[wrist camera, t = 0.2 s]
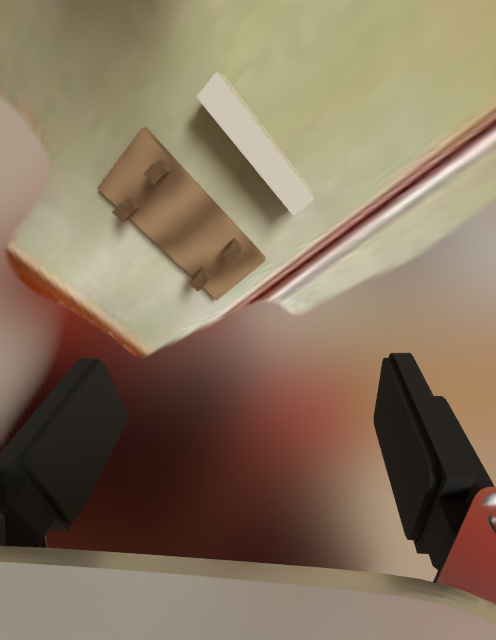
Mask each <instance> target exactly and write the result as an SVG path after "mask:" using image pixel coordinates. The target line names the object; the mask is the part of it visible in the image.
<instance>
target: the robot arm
mask: <svg viewBox="0 0 496 640" xmlns="http://www.w3.org/2000/svg"><path fill="white" fill-rule="evenodd" d="M126 423H127V413H126V411H125V408H124V406H123V404H122V402H121V399H120V397H119V395H118V393H117V390H116V388H115V386H114V384H113V381H112V379H111V377H110V375H109V373H108V370H107V368H106V366H105V364H104V363H102V362H101V361H100V360H99V359H97V358H85V359H83V358H82V359H79V360H78V361H77V362H76V363H75V365H74V366H73V367H72V368H71V369H70V371H69V372H68V373H67V374H66V375H65V377H64V378H63V379H62V380H61V381H60V382H59V384H58V385H57V386H56V387H55V388H54V390H53V391H52V392H51V393H50V394H49V396H48V397H47V398H46V399H45V400H44V402H43V403H42V404H41V405H40V406H39V408H38V409H37V410H36V411H35V412H34V414H33V415H32V416H31V417H30V418H29V419H28V421H27V422H26V423H25V424H24V426H23V427H22V428H21V429H20V430H19V432H18V433H17V434H16V435H15V436H14V438H13V439H12V440H11V441H10V442H9V444H8V445H7V446H6V447H5V448H4V449H3V451H2V452H1V453H0V640H496V487H495V486H494V485H493V483H492V481H491V479H490V477H489V476H488V474H487V472H486V470H485V469H484V467H483V465H482V463H481V462H480V460H479V458H478V456H477V454H476V452H475V451H474V449H473V447H472V445H471V443H470V442H469V440H468V438H467V436H466V434H465V433H464V431H463V429H462V427H461V426H460V424H459V422H458V420H457V418H456V416H455V415H454V413H453V411H452V409H451V408H450V406H449V404H448V402H447V401H446V399H445V398H443V397H442V396H433V394H432V392H431V390H430V388H429V386H428V384H427V382H426V381H425V378H424V377H423V375H422V373H421V371H420V369H419V367H418V365H417V363H416V361H415V359H414V357H413V356H412V354H411V353H391V354H390V355H389V358H384V359H383V361H382V367H381V374H380V380H379V386H378V393H377V399H376V406H375V412H374V426H375V430H376V434H377V437H378V441H379V444H380V448H381V451H382V455H383V459H384V462H385V466H386V469H387V473H388V476H389V480H390V483H391V487H392V490H393V494H394V497H395V501H396V505H397V508H398V512H399V515H400V519H401V522H402V526H403V530H404V533H405V536H406V538H407V539H408V540H413V541H414V544H415V547H416V551H417V553H420V554H429V556H430V559H431V562H432V565H433V567H435V568H436V569H437V570H438V572H437V574H436V576H435V578H434V581H433V582H430V581H425V580H422V579H416V578H409V577H402V576H395V575H389V574H380V573H370V572H359V571H349V570H339V569H328V568H316V567H304V566H291V565H278V564H265V563H252V562H240V561H227V560H213V559H212V560H211V559H198V558H185V557H171V556H157V555H143V554H129V553H115V552H114V553H113V552H100V551H84V550H69V549H54V548H47V547H46V538H45V535H46V533H47V531H48V530H49V528H50V529H51V530H59V531H68V530H69V528H70V526H71V524H72V522H73V520H75V519H77V518H78V517H79V515H80V514H81V512H82V510H83V508H84V506H85V504H86V502H87V500H88V498H89V496H90V494H91V492H92V490H93V488H94V486H95V484H96V482H97V480H98V478H99V477H100V474H101V473H102V471H103V469H104V467H105V465H106V463H107V461H108V459H109V457H110V455H111V453H112V451H113V449H114V447H115V445H116V443H117V441H118V439H119V437H120V435H121V433H122V432H123V429H124V427H125V426H126Z"/></svg>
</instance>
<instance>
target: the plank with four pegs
mask: <svg viewBox="0 0 496 640" xmlns="http://www.w3.org/2000/svg"><path fill="white" fill-rule="evenodd" d="M97 189H98V190H99V191H101V192H102V193H103V194H104V195H105V196H106V197H107V198H108V199H109V200H110V201H111V202H112V203H113V204H114V205H115V206H117V207H116V209H115V210H114V211H113V212H112V213H113V214H114V215H116V216H117V217H118V218H119V219H120V220H121V221H122V222H124V221H125V220H126V219H128V218H129V219H130V220H131V221H133V222H134V223H135V224H136V225H137V226H138V227H139V228H140V229H141V230H142V231H143V232H144V233H145V234H146V235H147V236H149V237H150V238H151V239H152V240H153V241H154V242H155V243H156V244H157V245H158V246H159V247H160V248H161V249H162V250H163V251H165V252H166V253H167V254H168V255H169V256H170V257H171V258H172V259H173V260H174V261H175V262H176V263H177V264H178V265H179V266H181V267H182V268H183V269H184V270H185V271H186V272H187V273H188V274H189V275H190V276H191V277H192V280H191V282H190V285H191V286H192V287H193V288H194V289H196V290H197V291H199V290H200V289H201V288H204V289H205V290H206V291H207V292H208V293H209V294H210V295H211V296H213V297H214V298H215V299H216V300H218V299H219V298H220V297H221V296H223V295H224V294H225V293H226V292H227V291H229V290H230V289H231V288H232V287H234V286H235V285H236V284H237V283H239V282H240V281H241V280H242V279H244V278H245V277H246V276H247V275H248V274H250V273H251V272H252V271H253V270H255V269H256V268H257V267H258V266H260V265H261V264H262V263H263V262H265V256H264V255H263V254H262V253H261V252H260V250H259V249H258V248H257V247H256V246H255V245H254V244H253V243H252V242H251V241H250V240H249V239H248V237H247V236H246V235H245V234H244V233H243V232H242V231H241V230H240V229H239V228H238V227H237V225H236V224H235V223H234V222H233V221H232V220H231V219H230V218H229V217H228V216H227V215H226V214H225V212H224V211H223V210H222V209H221V208H220V207H219V206H218V205H217V204H216V203H215V202H214V201H213V199H212V198H211V197H210V196H209V195H208V194H207V193H206V192H205V191H204V190H203V189H202V188H201V186H200V185H199V184H198V183H197V182H196V181H195V180H194V179H193V178H192V177H191V176H190V174H189V173H188V172H187V171H186V170H185V169H184V168H183V167H182V166H181V165H180V164H179V163H178V161H177V160H176V159H175V158H174V157H173V156H172V155H171V154H170V153H169V152H168V151H167V150H166V148H165V147H164V146H163V145H162V144H161V143H160V142H159V141H158V140H157V139H156V138H155V137H154V135H153V134H152V133H151V132H150V131H149V130H148V129H147V128H142V129H141V130H140V131H139V133H138V134H137V135H136V137H135V138H134V139H133V141H132V142H131V143H130V145H129V146H128V147H127V149H126V150H125V152H124V153H123V154H122V156H121V157H120V158H119V160H118V161H117V162H116V164H115V165H114V166H113V168H112V169H111V170H110V172H109V173H108V174H107V176H106V177H105V179H104V180H103V181H102V183H101V184H100V185H99V187H98V188H97Z"/></svg>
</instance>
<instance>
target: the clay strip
mask: <svg viewBox="0 0 496 640" xmlns="http://www.w3.org/2000/svg"><path fill="white" fill-rule="evenodd" d="M197 99H198V100H199V101H200V102H201V103H202V105H203V106H204V107H205V108H206V110H207V111H208V112H209V113H210V114H211V116H212V117H213V118H214V119H215V121H216V122H217V123H218V124H219V126H220V127H221V128H222V129H223V130H224V132H225V133H226V134H227V135H228V137H229V138H230V139H231V140H232V141H233V143H234V144H235V145H236V146H237V148H238V149H239V150H240V151H241V152H242V154H243V155H244V156H245V157H246V159H247V160H248V161H249V162H250V163H251V165H252V166H253V167H254V168H255V170H256V171H257V172H258V173H259V175H260V176H261V177H262V178H263V179H264V181H265V182H266V183H267V184H268V186H269V187H270V188H271V189H272V190H273V192H274V193H275V194H276V195H277V197H278V198H279V199H280V200H281V201H282V203H283V204H284V205H285V206H286V208H287V209H288V210H289V211H290V212H291V214H292V215H293V216H295V215H296V214H297V213H298V212H299V211H301V210H302V209H303V208H304V207H305V206H306V205H308V204H309V203H310V202H311V201H312V200H314V197H313V194H312V190H311V189H310V188H309V186H308V185H307V184H306V182H305V181H304V180H303V178H302V177H301V176H300V174H299V173H298V172H297V170H296V169H295V168H294V167H293V165H292V164H291V163H290V161H289V160H288V159H287V157H286V156H285V155H284V153H283V152H282V151H281V149H280V148H279V147H278V146H277V144H276V143H275V142H274V140H273V139H272V138H271V136H270V135H269V134H268V132H267V131H266V130H265V128H264V127H263V126H262V125H261V123H260V122H259V121H258V119H257V118H256V117H255V115H254V114H253V113H252V111H251V110H250V109H249V107H248V106H247V105H246V104H245V102H244V101H243V100H242V98H241V97H240V96H239V94H238V93H237V92H236V90H235V89H234V88H233V86H232V85H231V84H230V83H229V81H228V80H227V79H226V77H225V76H224V75H222V74H220V73H218V72H216V73H215V74H214V75H213V77H212V78H211V79H210V80H209V82H208V83H207V84H206V85H205V87H204V88H203V89H202V90H201V92H200V93H199V94H198V95H197Z"/></svg>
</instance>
